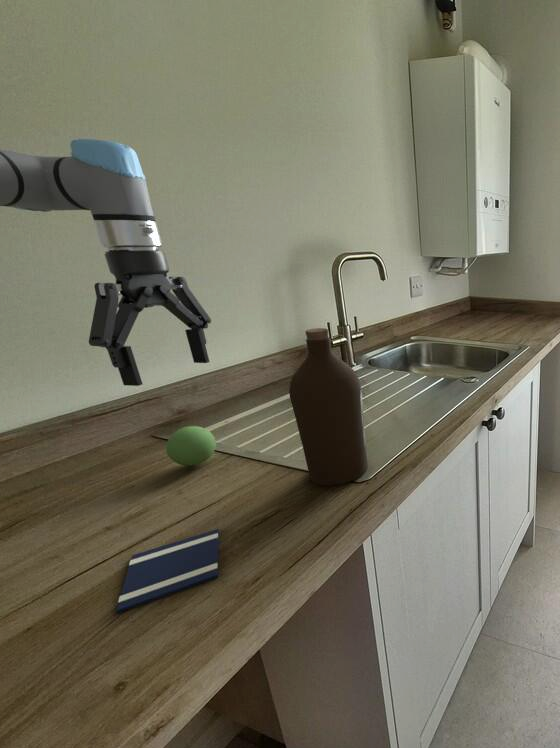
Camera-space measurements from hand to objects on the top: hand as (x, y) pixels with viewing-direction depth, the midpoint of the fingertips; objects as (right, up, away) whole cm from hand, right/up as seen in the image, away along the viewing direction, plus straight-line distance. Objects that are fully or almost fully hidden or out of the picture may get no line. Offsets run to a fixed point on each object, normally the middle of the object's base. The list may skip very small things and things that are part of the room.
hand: (170, 372), depth 74 cm
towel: (+20, -25, -24) cm, 40 cm away
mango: (+4, -13, -1) cm, 14 cm away
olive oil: (+32, -17, -3) cm, 36 cm away
